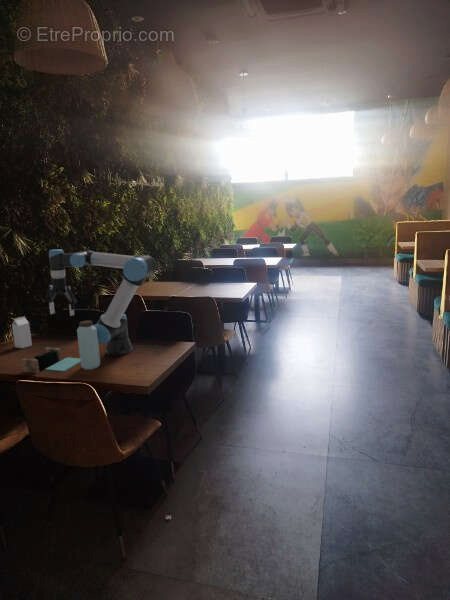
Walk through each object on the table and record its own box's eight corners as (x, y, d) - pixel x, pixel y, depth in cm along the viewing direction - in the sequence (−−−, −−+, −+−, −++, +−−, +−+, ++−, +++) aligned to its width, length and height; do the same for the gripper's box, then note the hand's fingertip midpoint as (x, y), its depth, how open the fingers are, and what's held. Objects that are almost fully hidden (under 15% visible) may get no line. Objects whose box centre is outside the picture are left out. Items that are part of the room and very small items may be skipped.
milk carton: (32, 345, 264) (28, 316, 260) (21, 348, 258) (17, 319, 254) (25, 344, 268) (21, 315, 264) (15, 347, 262) (10, 318, 258)
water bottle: (89, 371, 216) (84, 325, 211) (77, 368, 221) (71, 323, 216) (104, 365, 224) (99, 320, 219) (92, 362, 229) (87, 318, 224)
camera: (52, 360, 235) (50, 347, 233) (61, 362, 231) (59, 348, 230) (30, 369, 223) (28, 355, 221) (38, 371, 219) (36, 357, 217)
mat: (85, 359, 234) (84, 358, 234) (64, 371, 217) (64, 370, 217) (66, 358, 237) (66, 357, 237) (45, 370, 221) (45, 368, 220)
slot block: (61, 360, 235) (60, 348, 233) (37, 373, 216) (35, 360, 215) (48, 359, 237) (47, 347, 236) (23, 371, 219) (21, 359, 217)
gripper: (81, 277, 230) (84, 314, 234) (45, 275, 238) (49, 311, 242) (72, 279, 223) (76, 317, 227) (35, 277, 231) (39, 314, 235)
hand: (62, 314), depth 235 cm, fingers open, 13 cm apart
